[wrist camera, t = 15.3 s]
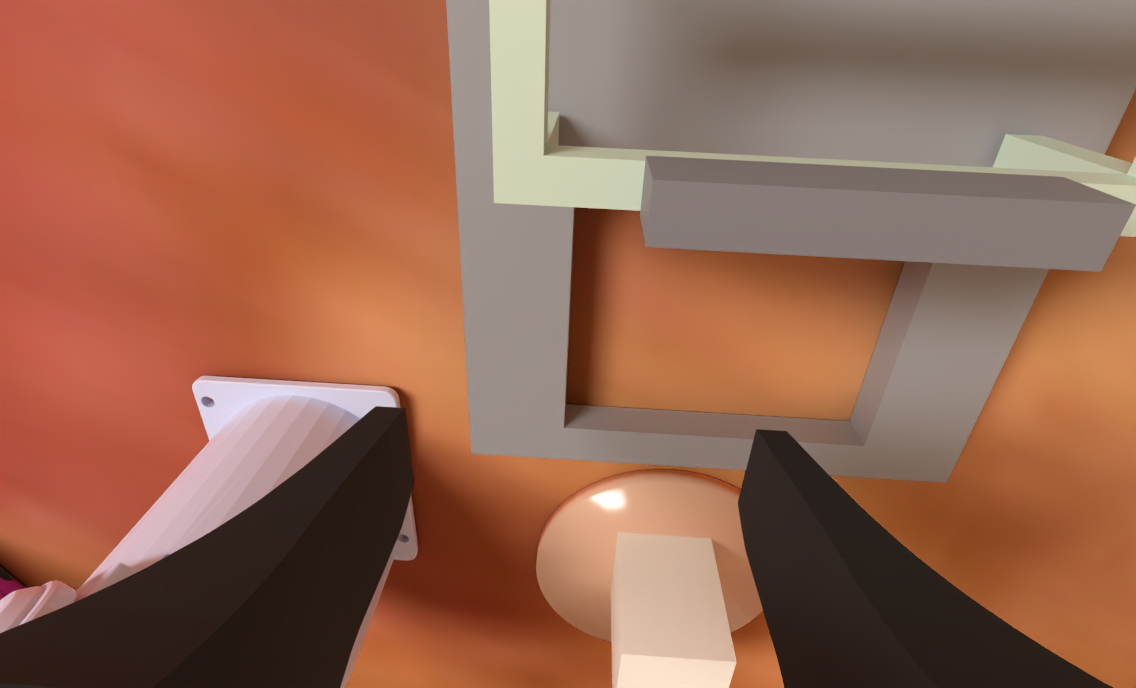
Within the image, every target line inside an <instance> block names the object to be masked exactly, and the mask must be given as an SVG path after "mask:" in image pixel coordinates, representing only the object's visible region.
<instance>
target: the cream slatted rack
mask: <svg viewBox="0 0 1136 688" xmlns="http://www.w3.org/2000/svg"><path fill="white" fill-rule="evenodd" d="M489 16H490V58H491V100H492V142H493V183H494V203H503V204H522V205H541V206H560V207H579V208H598V209H617V210H635V211H640V219H641V225H642V230H643V236H644V241H645V247H652V248H671V249H689V250H708V251H726V252H745V253H763V254H782V255H800V256H819V257H837V258H856V259H874V260H893V261H911V262H930V263H948V264H967V265H985V266H1004V267H1022V268H1041V269H1059V270H1078V271H1096V272H1101V271H1102V269H1103V267H1104V265H1105V263H1106V261H1107V259H1108V257H1109V255H1110V254H1111V252H1112V250H1113V248H1114V246H1115V244H1116V242H1117V240H1118V238H1119V237H1120V236H1128V237H1136V157H1135V159H1134V161H1133V163H1130V162H1127V161H1124V160H1120V159H1117V158H1114V157H1111V156H1107V155H1104V154H1101V153H1098V152H1094V151H1091V150H1088V149H1085V148H1081V147H1078V146H1075V145H1072V144H1068V143H1065V142H1062V141H1059V140H1055V139H1052V138H1049V137H1046V136H1036V135H1016V134H1006V135H1005V137H1004V140H1003V142H1002V145H1001V147H1000V150H999V152H998V155H997V157H996V160H995V163H994V165H993V167H975V166H955V165H935V164H915V163H896V162H876V161H856V160H836V159H817V158H797V157H777V156H757V155H737V154H718V153H698V152H678V151H658V150H639V149H619V148H599V147H579V146H560V145H558V144H559V112H550V111H548V93H549V46H550V0H489Z"/></svg>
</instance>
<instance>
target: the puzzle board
mask: <svg viewBox="0 0 1136 688" xmlns="http://www.w3.org/2000/svg"><path fill="white" fill-rule="evenodd" d="M446 4H447V22H448V40H449V58H450V76H451V95H452V113H453V131H454V149H455V167H456V185H457V203H458V221H459V239H460V257H461V276H462V294H463V312H464V330H465V348H466V366H467V384H468V402H469V420H470V439H471V453H473V454H489V455H505V456H521V457H537V458H554V459H570V460H586V461H602V462H618V463H634V464H651V465H667V466H683V467H699V468H715V469H731V470H746V468H747V464H748V460H749V456H750V452H751V448H752V444H753V440H754V436H755V432H756V429H762V430H778V431H787V432H788V433H789V434H790V435H791V436H792V437H793V438H794V439H795V440H796V441H797V442H798V443H799V444H800V445H801V446H802V447H803V448H804V450H805V451H806V452H807V453H808V454H809V455H810V456H811V457H812V458H813V459H814V460H815V461H816V462H817V463H818V464H819V465H820V466H821V467H822V468H823V469H824V470H825V472H826V473H827V474H828V475H829V476H844V477H861V478H877V479H893V480H909V481H925V482H941V483H947V481H948V479H949V477H950V475H951V473H952V471H953V469H954V466H955V464H956V462H957V460H958V458H959V456H960V454H961V452H962V450H963V448H964V446H965V444H966V441H967V439H968V437H969V435H970V433H971V431H972V429H973V427H974V425H975V423H976V421H977V419H978V417H979V414H980V412H981V410H982V408H983V406H984V404H985V402H986V400H987V398H988V396H989V394H990V392H991V390H992V387H993V385H994V383H995V381H996V379H997V377H998V375H999V373H1000V371H1001V369H1002V367H1003V365H1004V362H1005V360H1006V358H1007V356H1008V354H1009V352H1010V350H1011V348H1012V346H1013V344H1014V342H1015V340H1016V338H1017V335H1018V333H1019V331H1020V329H1021V327H1022V325H1023V323H1024V321H1025V319H1026V317H1027V315H1028V313H1029V311H1030V308H1031V306H1032V304H1033V302H1034V300H1035V298H1036V296H1037V294H1038V292H1039V290H1040V288H1041V286H1042V283H1043V281H1044V279H1045V277H1046V275H1047V273H1048V271H1049V269H1041V268H1022V267H1004V266H985V265H967V264H948V263H930V262H911V261H905V263H904V265H903V268H902V271H901V274H900V277H899V280H898V283H897V286H896V289H895V291H894V294H893V297H892V300H891V303H890V306H889V309H888V312H887V314H886V317H885V320H884V323H883V326H882V329H881V332H880V335H879V338H878V340H877V343H876V346H875V349H874V352H873V355H872V358H871V361H870V364H869V366H868V369H867V372H866V375H865V378H864V381H863V384H862V387H861V389H860V392H859V395H858V398H857V401H856V404H855V407H854V410H853V413H852V415H851V418H850V421H841V420H824V419H808V418H791V417H774V416H757V415H741V414H724V413H707V412H691V411H674V410H657V409H641V408H624V407H607V406H591V405H574V404H566V391H567V370H568V348H569V326H570V304H571V283H572V261H573V239H574V217H575V207H560V206H541V205H522V204H503V203H494V183H493V142H492V100H491V58H490V16H489V0H446ZM1135 90H1136V0H550V46H549V93H548V111H550V112H559V144H558V145H560V146H579V147H599V148H619V149H639V150H658V151H678V152H698V153H718V154H737V155H757V156H777V157H797V158H817V159H836V160H856V161H876V162H896V163H915V164H935V165H955V166H975V167H993V165H994V163H995V160H996V157H997V155H998V152H999V150H1000V147H1001V145H1002V142H1003V140H1004V137H1005V135H1006V134H1016V135H1036V136H1046V137H1049V138H1052V139H1055V140H1059V141H1062V142H1065V143H1068V144H1072V145H1075V146H1078V147H1081V148H1085V149H1088V150H1091V151H1094V152H1098V153H1101V154H1104V155H1105V152H1106V150H1107V148H1108V146H1109V144H1110V142H1111V140H1112V138H1113V136H1114V134H1115V132H1116V130H1117V128H1118V125H1119V123H1120V121H1121V119H1122V117H1123V115H1124V113H1125V111H1126V109H1127V107H1128V105H1129V103H1130V100H1131V98H1132V96H1133V94H1134V92H1135Z"/></svg>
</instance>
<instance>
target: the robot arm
mask: <svg viewBox="0 0 1136 688" xmlns="http://www.w3.org/2000/svg"><path fill="white" fill-rule="evenodd" d="M192 390H193V393H194V396H195V399H196V402H197V405H198V408H199V411H200V414H201V417H202V420H203V423H204V426H205V429H206V432H207V435H208V438H209V443H208V444H207V445H206V446H205V447H204V448H203V449H202V450H201V452H200V453H199V454H198V455H197V456H196V457H195V458H194V459H193V461H192V462H191V463H190V464H189V465H188V466H187V467H186V468H185V470H184V471H183V472H182V473H181V474H180V475H179V476H178V478H177V479H176V480H175V481H174V482H173V483H172V484H171V485H170V487H169V488H168V489H167V490H166V491H165V492H164V493H163V494H162V496H161V497H160V498H159V499H158V500H157V501H156V502H155V504H154V505H153V506H152V507H151V508H150V509H149V510H148V511H147V513H146V514H145V515H144V516H143V517H142V518H141V519H140V520H139V522H138V523H137V524H136V525H135V526H134V527H133V528H132V530H131V531H130V532H129V533H128V534H127V535H126V536H125V537H124V539H123V540H122V541H121V542H120V543H119V544H118V545H117V546H116V548H115V549H114V550H113V551H112V552H111V553H110V554H109V555H108V557H107V558H106V559H105V560H104V561H103V562H102V563H101V565H100V566H99V567H98V568H97V569H96V570H95V571H94V572H93V574H92V575H91V576H90V577H89V578H88V579H87V580H86V581H85V583H84V584H83V585H82V586H81V587H80V588H78V589H77V590H76V591H75V590H74V589H73V588H71V587H69V586H68V585H66V584H65V583H63V582H61V581H57V580H54V581H50V582H47V583H45V584H44V585H42V586H41V587H40V586H35V587H30V588H25V589H20V590H16V591H13V592H11V593H10V594H8V595H7V596H5V597H4V598H2V599H1V600H0V688H344V687H345V686H346V684H347V682H348V680H349V678H350V676H351V674H352V671H353V669H354V666H355V663H356V661H357V658H358V655H359V653H360V650H361V647H362V644H363V642H364V639H365V636H366V634H367V631H368V628H369V625H370V623H371V620H372V617H373V615H374V612H375V609H376V606H377V604H378V601H379V598H380V596H381V593H382V590H383V587H384V585H385V582H386V579H387V577H388V574H389V571H390V568H391V566H392V563H393V560H404V561H408V560H412V559H414V558H415V557H416V555H417V552H418V543H417V535H416V527H415V519H414V511H413V503H412V495H411V492H412V489H413V485H414V478H413V470H412V461H411V453H410V445H409V437H408V428H407V420H406V412H405V408H400V401H399V396H398V394H397V392H396V391H395V390H393V389H392V388H390V387H385V386H369V385H352V384H336V383H319V382H302V381H285V380H269V379H252V378H235V377H218V376H201V377H200V378H198V379H197V380H196V381H195V382H194V383H193V385H192ZM208 397H210V398H211V399H213V401H211V400H210V399H209V398H208ZM738 508H739V515H740V522H741V528H742V534H743V540H744V545H745V550H746V554H747V557H748V561H749V564H750V568H751V571H752V575H753V578H754V581H755V585H756V588H757V591H758V595H759V598H760V601H761V605H762V608H763V611H764V615H765V618H766V621H767V625H768V628H769V631H770V635H771V638H772V641H773V645H774V648H775V651H776V655H777V659H778V662H779V666H780V670H781V674H782V678H783V683H784V688H1113V687H1111V686H1109V685H1107V684H1105V683H1103V682H1102V681H1100V680H1098V679H1096V678H1095V677H1093V676H1091V675H1089V674H1088V673H1086V672H1084V671H1083V670H1081V669H1079V668H1078V667H1076V666H1074V665H1073V664H1071V663H1069V662H1068V661H1066V660H1064V659H1063V658H1061V657H1059V656H1058V655H1056V654H1054V653H1053V652H1051V651H1049V650H1048V649H1046V648H1045V647H1043V646H1041V645H1040V644H1038V643H1037V642H1035V641H1034V640H1032V639H1030V638H1029V637H1027V636H1026V635H1024V634H1023V633H1021V632H1019V631H1018V630H1016V629H1015V628H1013V627H1012V626H1010V625H1009V624H1007V623H1006V622H1005V621H1003V620H1002V619H1000V618H999V617H997V616H996V615H994V614H993V613H991V612H990V611H989V610H987V609H986V608H984V607H983V606H981V605H980V604H978V603H977V602H975V601H974V600H973V599H971V598H970V597H968V596H967V595H966V594H964V593H963V592H962V591H960V590H959V589H957V588H956V587H955V586H953V585H952V584H951V583H950V582H948V581H947V580H946V579H944V578H943V577H942V576H941V575H939V574H938V573H937V572H935V571H934V570H933V569H932V568H930V567H929V566H928V565H927V564H925V563H924V562H923V561H921V560H920V559H919V558H918V557H916V556H915V555H914V554H913V553H912V552H910V551H909V550H908V549H907V548H906V547H904V546H903V545H902V544H901V543H900V542H899V541H898V540H897V539H895V538H894V537H893V536H892V535H891V534H890V533H889V532H888V531H886V530H885V529H884V528H883V527H882V526H881V525H880V524H879V523H877V522H876V521H875V520H874V519H873V518H872V517H871V516H870V515H869V514H868V513H867V512H866V511H865V510H864V509H862V508H861V507H860V506H859V505H858V504H857V503H856V502H855V501H854V500H853V499H852V498H851V497H850V496H849V495H848V494H847V493H846V492H845V491H844V490H843V489H842V488H841V487H840V486H839V485H838V484H837V483H836V482H835V481H834V480H833V479H832V478H831V477H830V476H829V475H828V474H827V473H826V472H825V470H824V469H823V468H822V467H821V466H820V465H819V464H818V463H817V462H816V461H815V460H814V459H813V458H812V457H811V456H810V455H809V454H808V453H807V452H806V451H805V450H804V448H803V447H802V446H801V445H800V444H799V443H798V442H797V441H796V440H795V439H794V438H793V437H792V436H791V435H790V434H789V433H788V432H787V431H778V430H762V429H756V432H755V436H754V440H753V444H752V448H751V452H750V456H749V460H748V464H747V468H746V472H745V476H744V480H743V484H742V488H741V492H740V496H739V500H738ZM402 534H403V535H402ZM405 535H406V536H405Z"/></svg>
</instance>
